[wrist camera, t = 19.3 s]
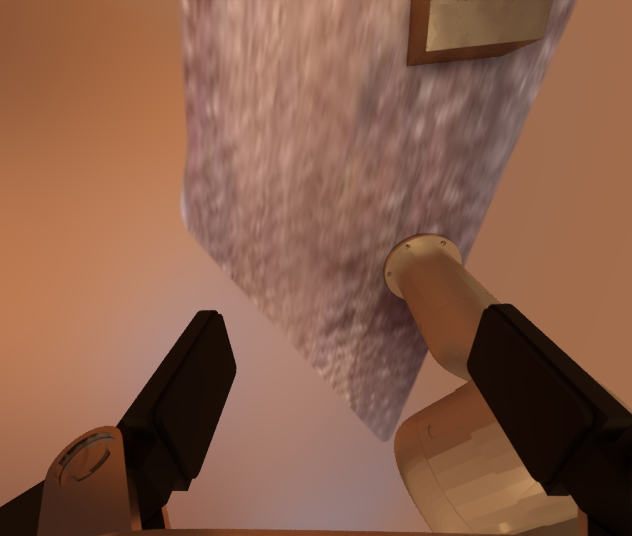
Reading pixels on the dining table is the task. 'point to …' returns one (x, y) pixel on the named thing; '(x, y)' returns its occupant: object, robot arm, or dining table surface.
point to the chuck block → (473, 28)
